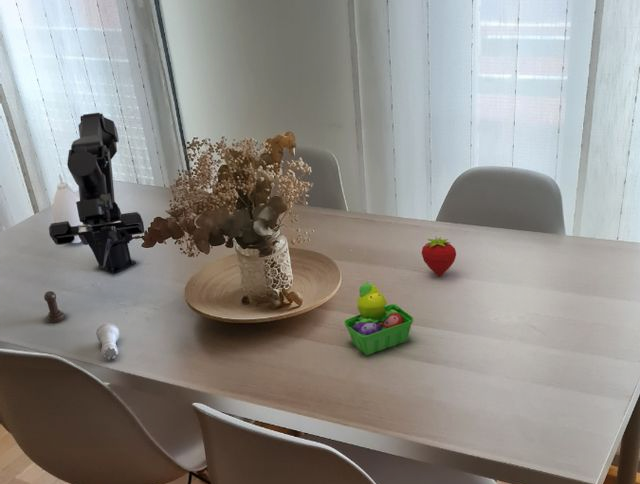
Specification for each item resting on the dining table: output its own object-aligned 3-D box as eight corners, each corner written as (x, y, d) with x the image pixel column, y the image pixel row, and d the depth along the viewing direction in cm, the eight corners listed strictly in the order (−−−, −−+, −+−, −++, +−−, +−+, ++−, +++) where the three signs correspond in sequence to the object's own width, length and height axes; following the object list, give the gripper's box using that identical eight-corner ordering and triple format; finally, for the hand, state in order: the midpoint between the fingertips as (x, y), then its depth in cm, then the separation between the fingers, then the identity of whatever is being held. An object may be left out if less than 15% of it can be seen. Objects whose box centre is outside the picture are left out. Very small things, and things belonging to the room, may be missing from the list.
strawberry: (449, 284, 182) (449, 241, 176) (417, 279, 185) (416, 236, 180) (460, 273, 186) (461, 230, 181) (428, 267, 189) (427, 225, 184)
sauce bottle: (88, 247, 215) (71, 177, 205) (57, 249, 215) (38, 180, 206) (95, 234, 221) (79, 166, 212) (65, 236, 222) (48, 169, 212)
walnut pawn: (58, 313, 185) (50, 286, 182) (67, 317, 184) (60, 290, 180) (44, 320, 183) (37, 293, 180) (54, 324, 181) (46, 297, 178)
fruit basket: (363, 361, 159) (360, 307, 153) (341, 340, 166) (336, 288, 160) (416, 342, 163) (414, 289, 157) (391, 323, 170) (389, 271, 164)
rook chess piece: (122, 326, 172) (125, 348, 166) (114, 343, 174) (116, 366, 168) (101, 319, 170) (103, 341, 164) (92, 337, 172) (94, 360, 166)
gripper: (38, 186, 174) (46, 259, 170) (131, 174, 175) (141, 246, 172) (52, 209, 185) (59, 278, 181) (140, 197, 186) (149, 265, 183)
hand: (101, 266), depth 179 cm, fingers closed
